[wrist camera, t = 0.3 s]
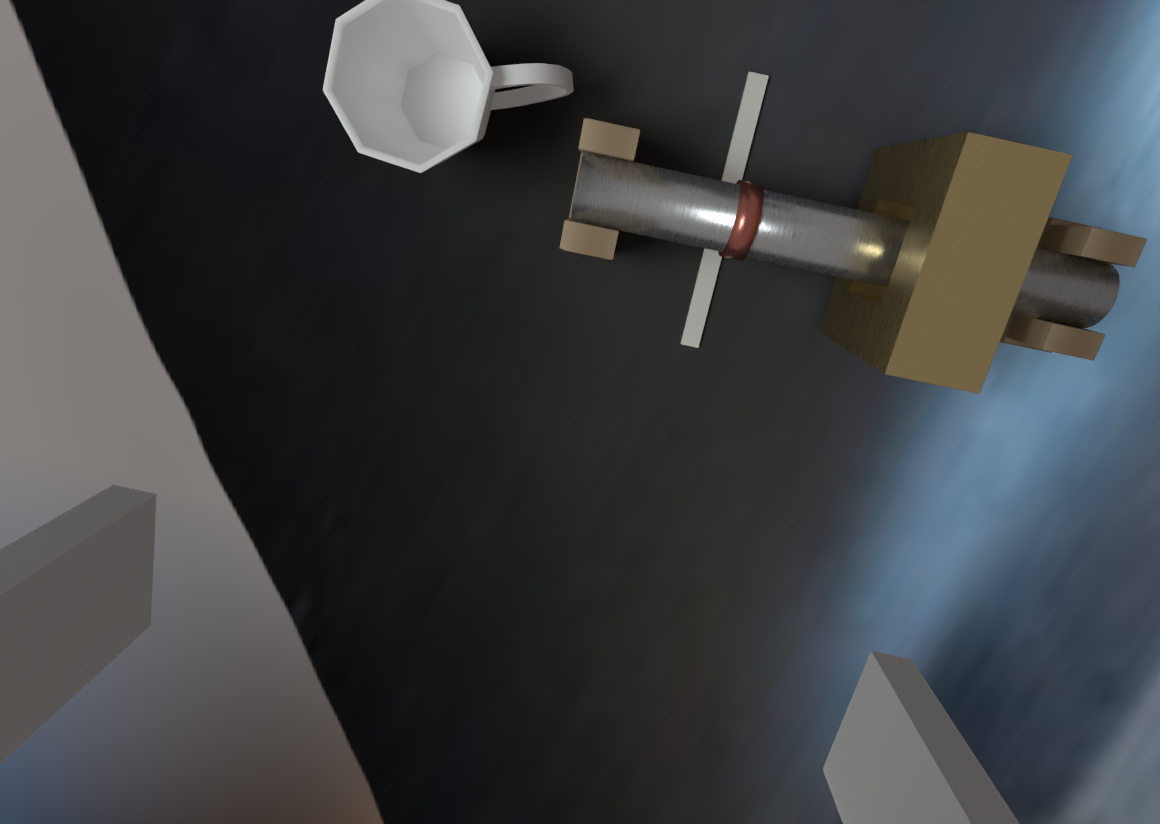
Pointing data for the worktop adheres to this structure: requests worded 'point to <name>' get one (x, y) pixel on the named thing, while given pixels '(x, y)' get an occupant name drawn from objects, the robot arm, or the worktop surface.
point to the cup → (422, 81)
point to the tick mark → (731, 174)
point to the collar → (947, 255)
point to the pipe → (806, 234)
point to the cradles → (1018, 328)
